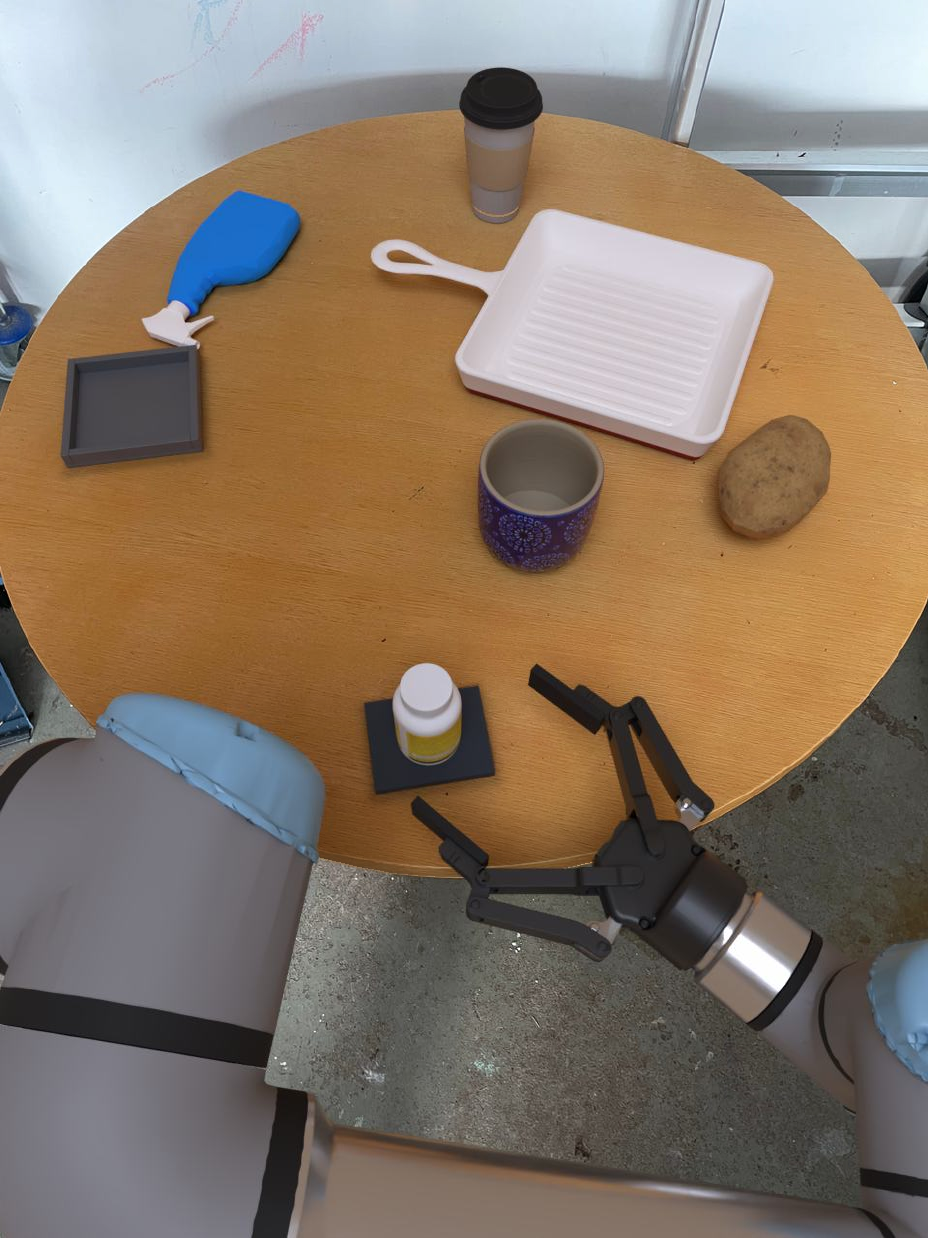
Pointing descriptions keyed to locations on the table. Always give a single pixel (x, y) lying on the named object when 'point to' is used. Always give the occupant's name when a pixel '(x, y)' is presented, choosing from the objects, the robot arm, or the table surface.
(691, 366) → the pan
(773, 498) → the potato
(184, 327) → the spray bottle
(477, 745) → the slate mat
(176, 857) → the robot arm
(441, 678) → the supplement bottle
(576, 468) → the planter
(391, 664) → the table surface
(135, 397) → the dark gray tray
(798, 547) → the table surface
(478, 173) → the coffee cup
